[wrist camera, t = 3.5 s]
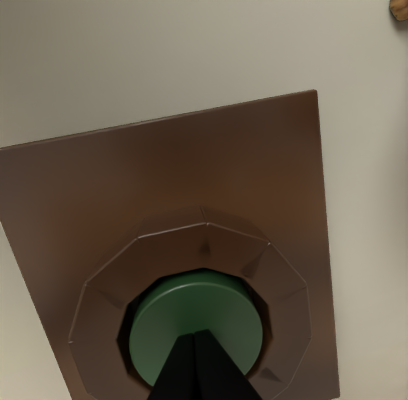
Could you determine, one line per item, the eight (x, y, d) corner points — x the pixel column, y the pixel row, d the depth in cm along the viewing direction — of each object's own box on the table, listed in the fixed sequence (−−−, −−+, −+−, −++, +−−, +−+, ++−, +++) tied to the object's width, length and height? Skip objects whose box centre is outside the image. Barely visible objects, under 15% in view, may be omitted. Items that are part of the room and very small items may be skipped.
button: (253, 335, 9) (271, 380, 7) (152, 359, 9) (147, 413, 7) (237, 242, 8) (254, 269, 6) (125, 267, 8) (111, 301, 6)
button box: (318, 362, 12) (375, 450, 8) (108, 416, 11) (78, 535, 8) (292, 98, 9) (362, 70, 6) (11, 151, 8) (-101, 155, 5)
